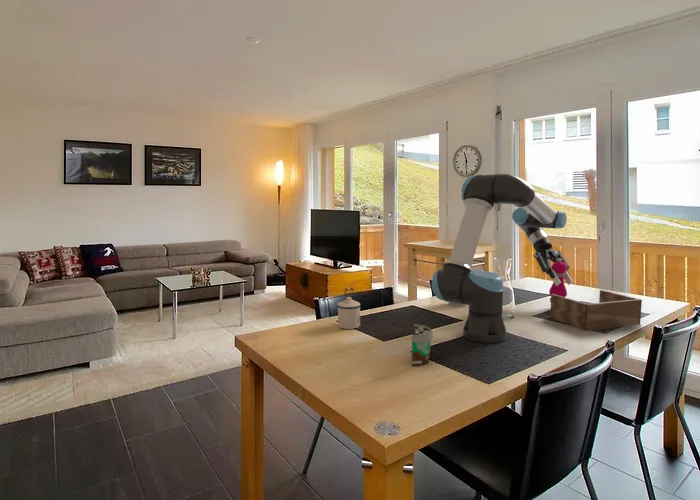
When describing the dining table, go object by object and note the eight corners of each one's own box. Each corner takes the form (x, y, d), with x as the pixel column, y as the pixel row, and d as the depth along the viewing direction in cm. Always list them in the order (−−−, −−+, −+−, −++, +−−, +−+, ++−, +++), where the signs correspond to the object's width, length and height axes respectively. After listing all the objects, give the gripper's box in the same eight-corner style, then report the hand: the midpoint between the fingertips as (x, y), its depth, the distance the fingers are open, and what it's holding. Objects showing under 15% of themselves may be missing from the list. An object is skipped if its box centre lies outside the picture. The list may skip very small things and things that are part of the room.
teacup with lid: (364, 328, 172) (363, 299, 171) (341, 330, 169) (341, 301, 168) (353, 320, 183) (353, 292, 182) (332, 322, 180) (332, 294, 179)
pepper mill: (567, 301, 199) (569, 257, 196) (565, 305, 193) (567, 259, 190) (550, 299, 203) (552, 256, 200) (547, 303, 197) (549, 258, 194)
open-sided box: (550, 317, 184) (551, 294, 183) (600, 312, 191) (601, 289, 190) (586, 330, 166) (587, 304, 165) (640, 324, 173) (641, 299, 172)
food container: (432, 369, 131) (432, 336, 129) (411, 368, 132) (411, 335, 131) (433, 354, 143) (433, 324, 141) (413, 353, 144) (414, 323, 143)
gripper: (552, 246, 212) (577, 287, 198) (519, 248, 207) (542, 289, 193) (561, 236, 206) (587, 277, 193) (527, 238, 201) (551, 279, 188)
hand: (564, 283), depth 193 cm, fingers closed on pepper mill, 6 cm apart
